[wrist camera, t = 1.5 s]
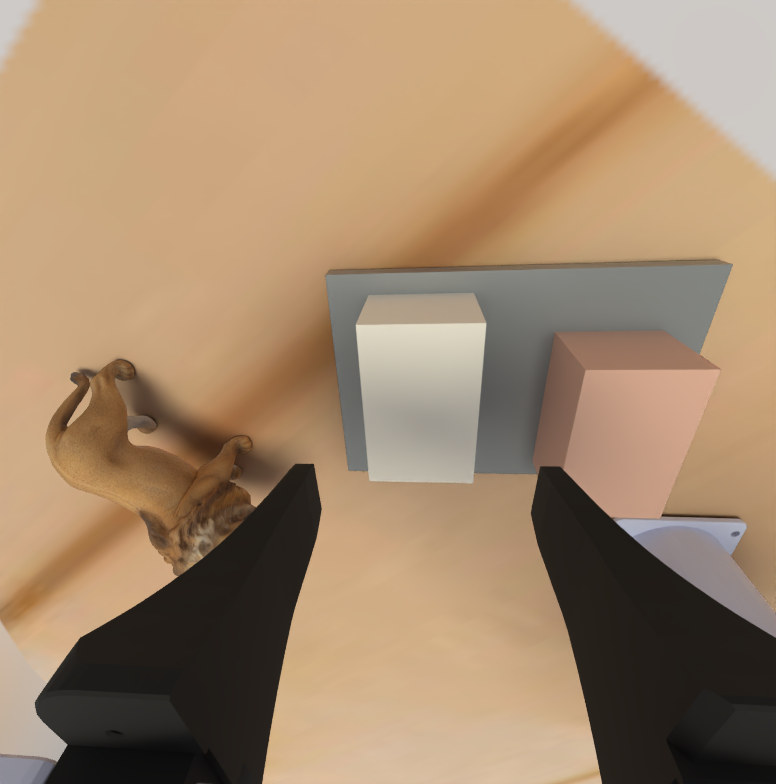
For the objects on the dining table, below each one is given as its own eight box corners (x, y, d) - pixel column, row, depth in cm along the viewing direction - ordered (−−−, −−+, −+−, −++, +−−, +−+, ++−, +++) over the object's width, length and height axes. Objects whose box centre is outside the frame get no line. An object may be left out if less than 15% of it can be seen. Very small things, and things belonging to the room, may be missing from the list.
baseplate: (645, 465, 24) (653, 476, 23) (351, 460, 25) (348, 470, 25) (718, 259, 18) (732, 264, 17) (329, 270, 20) (325, 274, 19)
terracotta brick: (621, 462, 23) (660, 518, 19) (532, 460, 23) (552, 515, 19) (663, 330, 19) (721, 369, 15) (554, 331, 19) (585, 369, 16)
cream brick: (464, 432, 22) (473, 483, 19) (377, 431, 23) (369, 481, 19) (474, 292, 19) (486, 323, 15) (368, 294, 19) (355, 324, 15)
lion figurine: (315, 453, 26) (267, 578, 18) (282, 502, 28) (228, 632, 20) (86, 337, 23) (-92, 426, 15) (72, 403, 25) (-87, 510, 17)
